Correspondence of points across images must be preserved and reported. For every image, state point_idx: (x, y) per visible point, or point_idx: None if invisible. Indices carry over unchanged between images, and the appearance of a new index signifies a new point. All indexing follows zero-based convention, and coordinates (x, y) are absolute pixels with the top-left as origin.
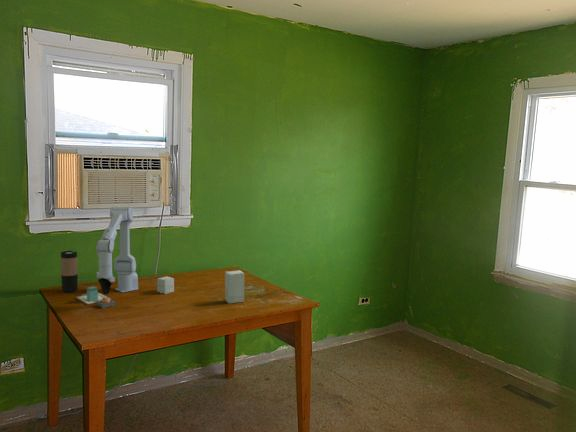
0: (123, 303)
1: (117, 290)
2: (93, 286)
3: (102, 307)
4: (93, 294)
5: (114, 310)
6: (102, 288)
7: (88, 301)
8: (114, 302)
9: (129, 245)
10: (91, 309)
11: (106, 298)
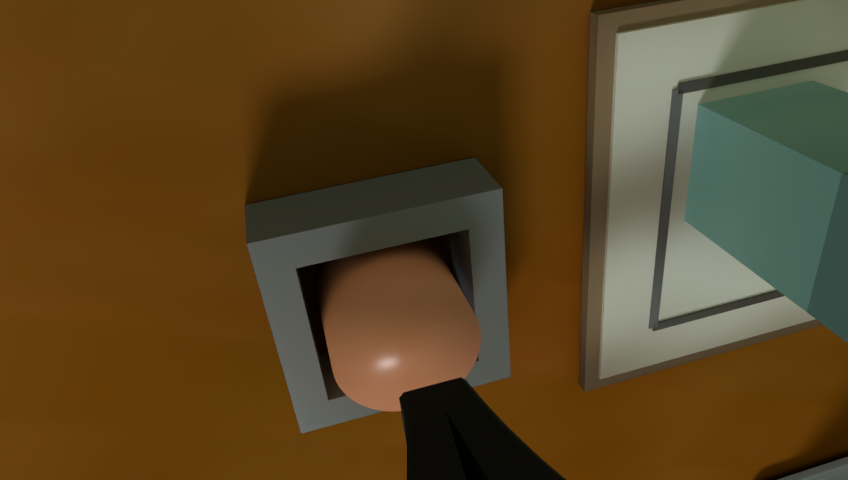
0: (357, 476)
1: (845, 457)
2: None
3: (251, 211)
4: (768, 205)
5: (42, 349)
6: (486, 478)
7: (713, 76)
8: (299, 416)
9: None
10: (289, 11)
11: (408, 361)
